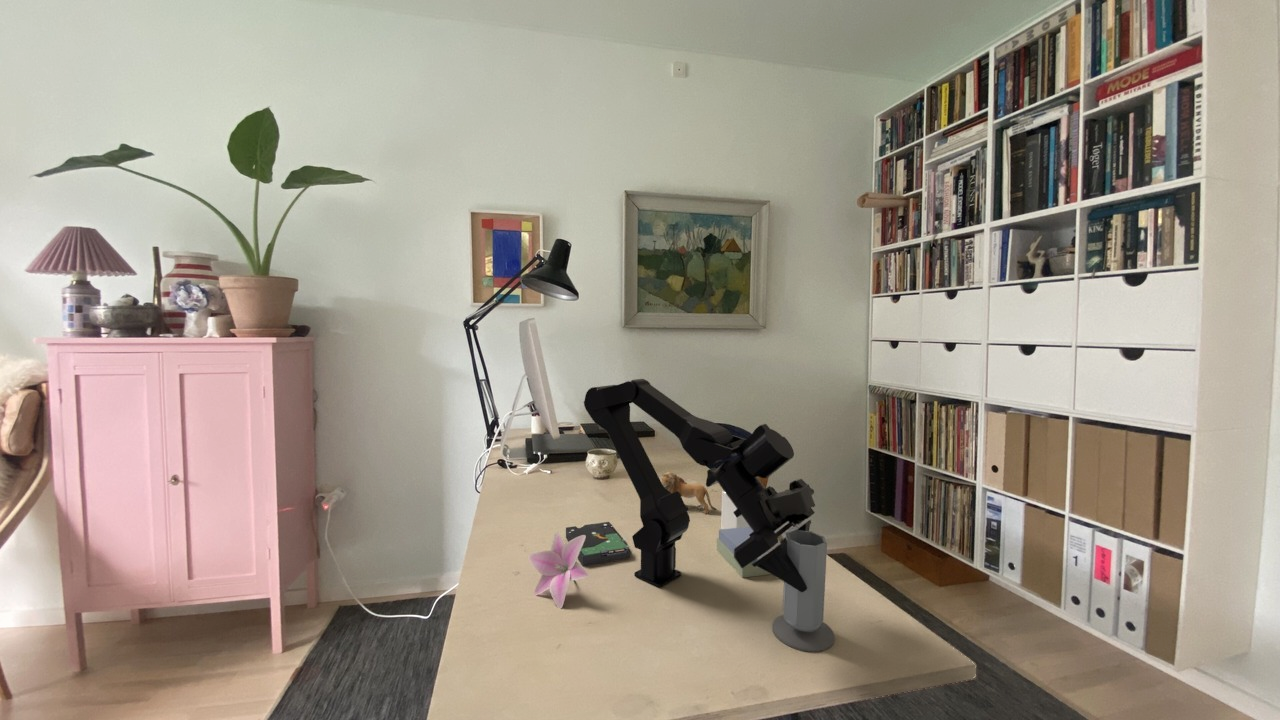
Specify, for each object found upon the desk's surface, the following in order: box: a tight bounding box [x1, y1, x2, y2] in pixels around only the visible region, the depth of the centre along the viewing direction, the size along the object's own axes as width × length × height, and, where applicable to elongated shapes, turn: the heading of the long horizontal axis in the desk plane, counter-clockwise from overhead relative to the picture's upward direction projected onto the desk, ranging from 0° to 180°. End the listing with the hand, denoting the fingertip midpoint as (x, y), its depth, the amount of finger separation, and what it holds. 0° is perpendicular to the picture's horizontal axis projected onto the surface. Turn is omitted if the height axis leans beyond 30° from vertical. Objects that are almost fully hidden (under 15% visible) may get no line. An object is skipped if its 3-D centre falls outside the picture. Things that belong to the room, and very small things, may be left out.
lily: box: [527, 531, 589, 609], centre depth 88 cm, size 12×12×10 cm
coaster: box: [771, 614, 835, 653], centre depth 76 cm, size 9×9×1 cm
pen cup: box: [782, 530, 828, 632], centre depth 75 cm, size 6×6×13 cm
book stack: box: [716, 527, 772, 579], centre depth 99 cm, size 12×8×4 cm, turn 14°
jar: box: [720, 489, 750, 530], centre depth 114 cm, size 9×8×12 cm
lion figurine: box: [660, 471, 718, 515], centre depth 128 cm, size 15×5×9 cm, turn 72°
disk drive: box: [565, 521, 632, 567], centre depth 105 cm, size 10×3×15 cm
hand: (812, 581), depth 75 cm, fingers closed on pen cup, 6 cm apart
